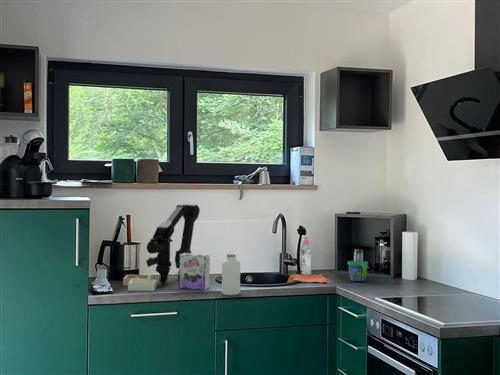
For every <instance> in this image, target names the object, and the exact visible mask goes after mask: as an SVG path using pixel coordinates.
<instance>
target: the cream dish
mask: <svg viewBox="0 0 500 375" xmlns="http://www.w3.org/2000/svg"><path fill="white" fill-rule="evenodd" d="M157 285H158V284H157V278H151V279H131V280H130V281H129V283H128V286H127V292H128V293H154V292H155V290H156V288H157Z"/></svg>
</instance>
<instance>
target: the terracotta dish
mask: <svg viewBox="0 0 500 375" xmlns="http://www.w3.org/2000/svg"><path fill="white" fill-rule="evenodd" d="M136 277H139V278H136ZM151 277H152V275H151V274H126V275H125V276H124V277H123V278H122V286H123V287H128V283H129V281H130V280H131V279H152V278H151Z"/></svg>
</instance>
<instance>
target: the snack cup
mask: <svg viewBox="0 0 500 375" xmlns="http://www.w3.org/2000/svg"><path fill="white" fill-rule="evenodd" d="M347 265H348V273H349V279H350V281H351V280H355V281H363V282H365V281H366V277H367V276H368V265H369V262H368V261H365V260H364V261H362V260H349V261H347ZM364 280H365V281H364Z"/></svg>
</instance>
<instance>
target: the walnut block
mask: <svg viewBox="0 0 500 375" xmlns="http://www.w3.org/2000/svg"><path fill="white" fill-rule="evenodd" d="M158 279H159V280H158V281H159V282H158V286H168V285H169V277H168V276H167V279H166V281H165V284H162V281H161V276H159V278H158Z"/></svg>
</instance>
